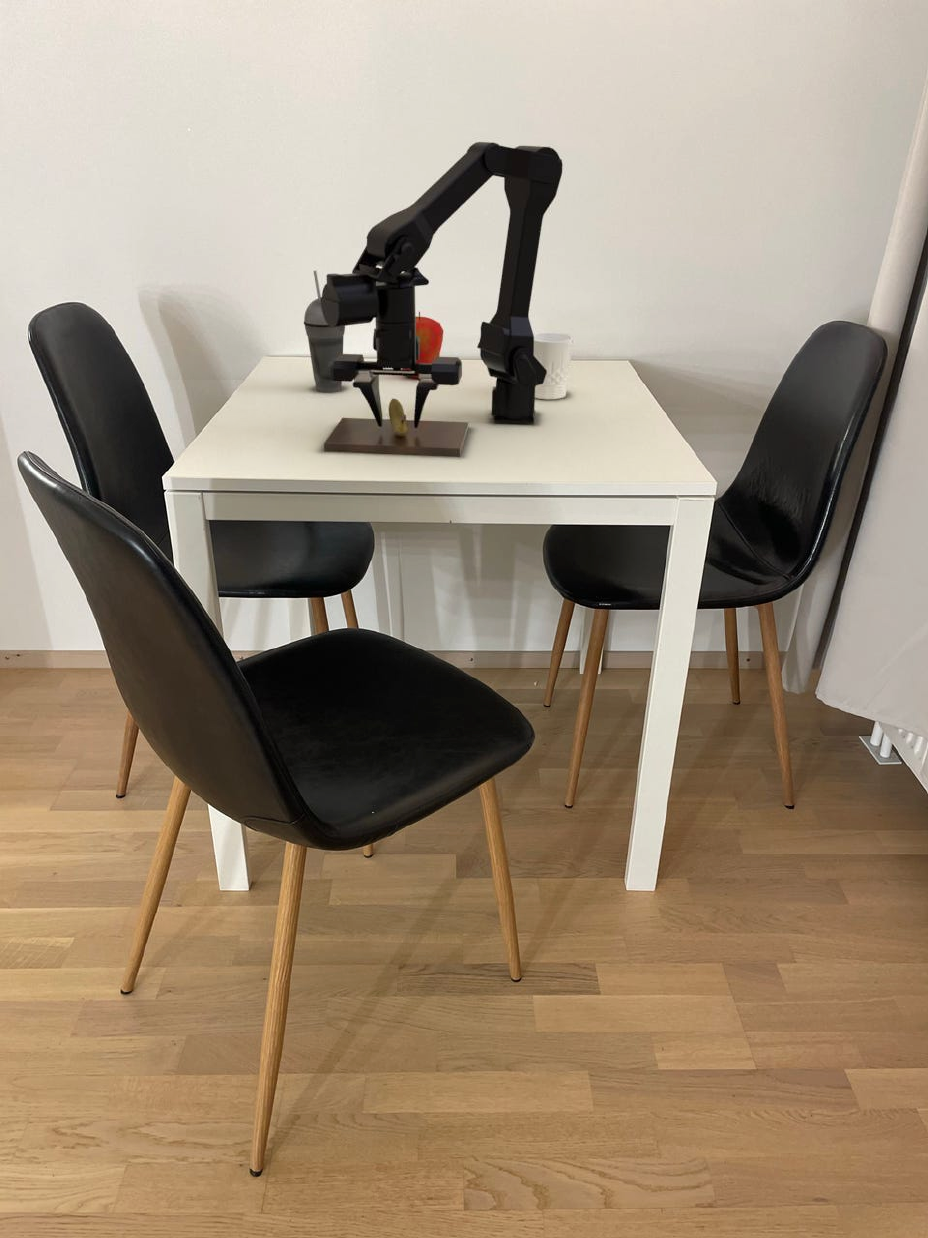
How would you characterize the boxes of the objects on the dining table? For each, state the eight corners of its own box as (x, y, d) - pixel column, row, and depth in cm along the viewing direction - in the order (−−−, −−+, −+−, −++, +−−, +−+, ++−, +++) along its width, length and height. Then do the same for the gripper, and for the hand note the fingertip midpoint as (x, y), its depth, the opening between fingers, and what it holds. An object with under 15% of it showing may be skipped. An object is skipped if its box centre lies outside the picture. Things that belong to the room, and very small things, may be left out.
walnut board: (468, 429, 145) (468, 422, 144) (459, 456, 134) (460, 448, 133) (342, 424, 146) (342, 417, 146) (324, 451, 135) (323, 443, 135)
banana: (387, 422, 144) (386, 397, 142) (402, 421, 144) (402, 396, 142) (395, 442, 135) (394, 415, 133) (411, 441, 135) (411, 415, 133)
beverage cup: (342, 395, 162) (335, 274, 152) (302, 392, 163) (293, 273, 153) (354, 384, 168) (348, 268, 158) (316, 382, 169) (308, 266, 159)
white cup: (518, 397, 161) (520, 339, 156) (532, 386, 168) (535, 330, 163) (561, 402, 159) (565, 343, 154) (574, 391, 165) (578, 334, 160)
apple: (388, 377, 173) (386, 312, 167) (413, 368, 179) (412, 305, 173) (426, 384, 169) (425, 317, 163) (451, 374, 175) (451, 310, 169)
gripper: (465, 310, 138) (465, 413, 145) (342, 307, 139) (348, 409, 147) (458, 325, 128) (458, 435, 136) (326, 322, 130) (333, 430, 137)
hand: (398, 426), depth 139 cm, fingers open, 5 cm apart
